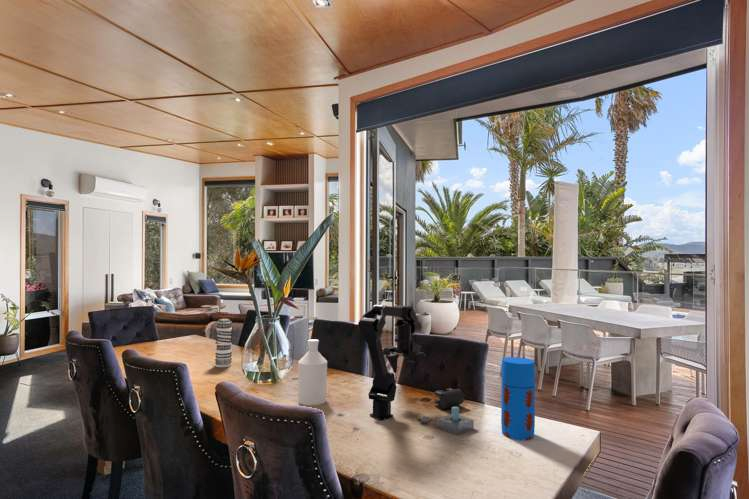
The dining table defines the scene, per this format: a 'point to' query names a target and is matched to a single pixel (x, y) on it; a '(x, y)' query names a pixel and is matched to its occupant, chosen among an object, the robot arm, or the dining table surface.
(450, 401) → the end cap
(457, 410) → the round bit
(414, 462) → the dining table surface
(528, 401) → the thermos
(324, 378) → the bottle
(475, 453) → the dining table surface
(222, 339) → the decorative candle
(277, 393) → the dining table surface
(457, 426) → the socket block
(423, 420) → the charcoal rectangular brick
